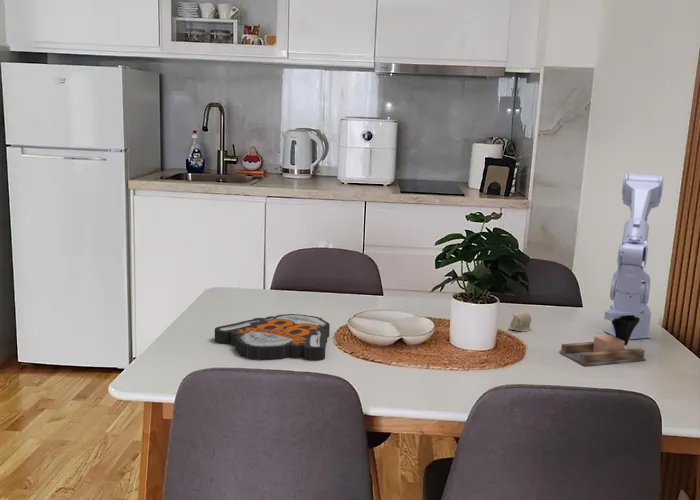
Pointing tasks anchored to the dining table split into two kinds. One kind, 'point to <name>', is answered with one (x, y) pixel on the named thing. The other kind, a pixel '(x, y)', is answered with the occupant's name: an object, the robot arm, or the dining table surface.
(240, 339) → the decorative emblem
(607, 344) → the block
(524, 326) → the decorative ornament
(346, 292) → the dining table surface
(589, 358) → the walnut chute
